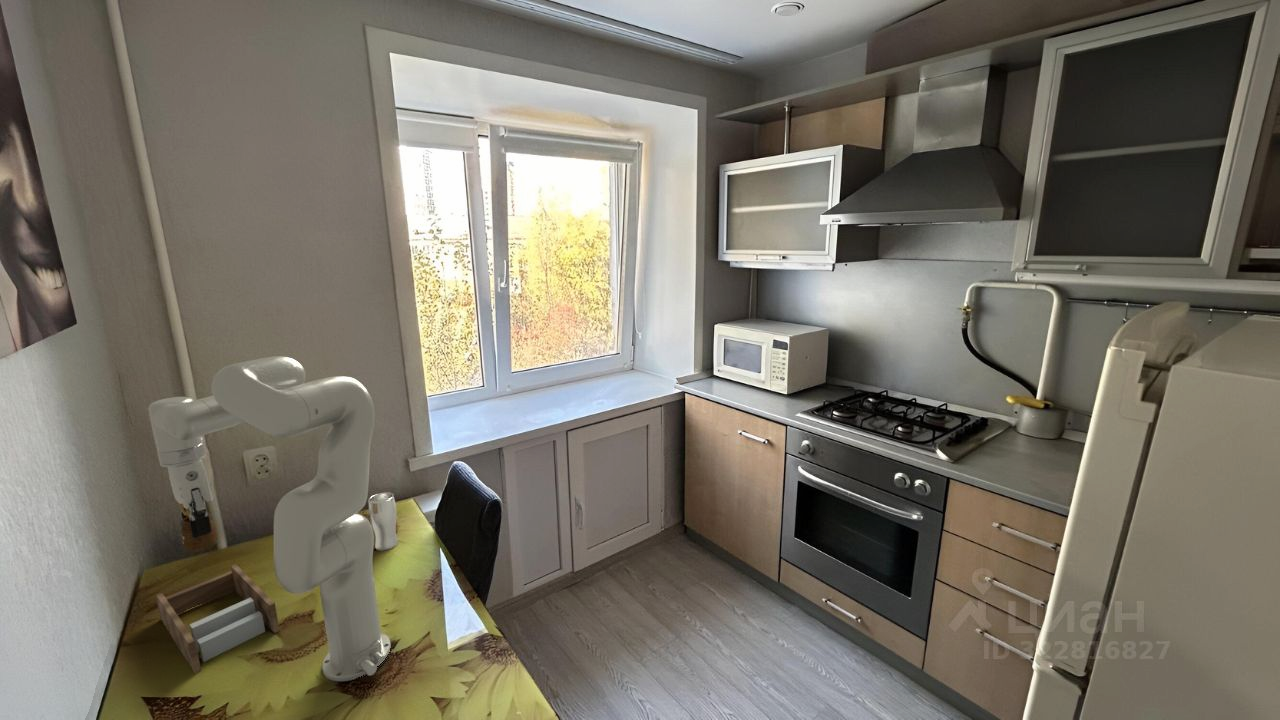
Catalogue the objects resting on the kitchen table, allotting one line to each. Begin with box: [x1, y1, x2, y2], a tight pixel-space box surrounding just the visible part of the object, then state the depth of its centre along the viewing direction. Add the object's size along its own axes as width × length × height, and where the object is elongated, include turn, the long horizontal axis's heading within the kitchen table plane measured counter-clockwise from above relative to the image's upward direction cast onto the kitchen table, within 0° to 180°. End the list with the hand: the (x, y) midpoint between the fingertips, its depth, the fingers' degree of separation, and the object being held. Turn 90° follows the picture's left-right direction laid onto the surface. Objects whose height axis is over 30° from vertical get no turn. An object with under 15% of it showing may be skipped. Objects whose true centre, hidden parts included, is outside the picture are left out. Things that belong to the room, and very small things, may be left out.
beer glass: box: [367, 491, 399, 552], centre depth 149 cm, size 7×7×15 cm
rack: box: [155, 563, 280, 674], centre depth 118 cm, size 27×15×7 cm, turn 53°
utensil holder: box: [179, 500, 219, 554], centre depth 115 cm, size 6×6×12 cm
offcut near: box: [189, 597, 256, 653], centre depth 114 cm, size 2×11×6 cm, turn 143°
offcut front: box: [197, 611, 266, 662], centre depth 112 cm, size 2×11×4 cm, turn 143°
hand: (198, 529), depth 115 cm, fingers closed on utensil holder, 5 cm apart
